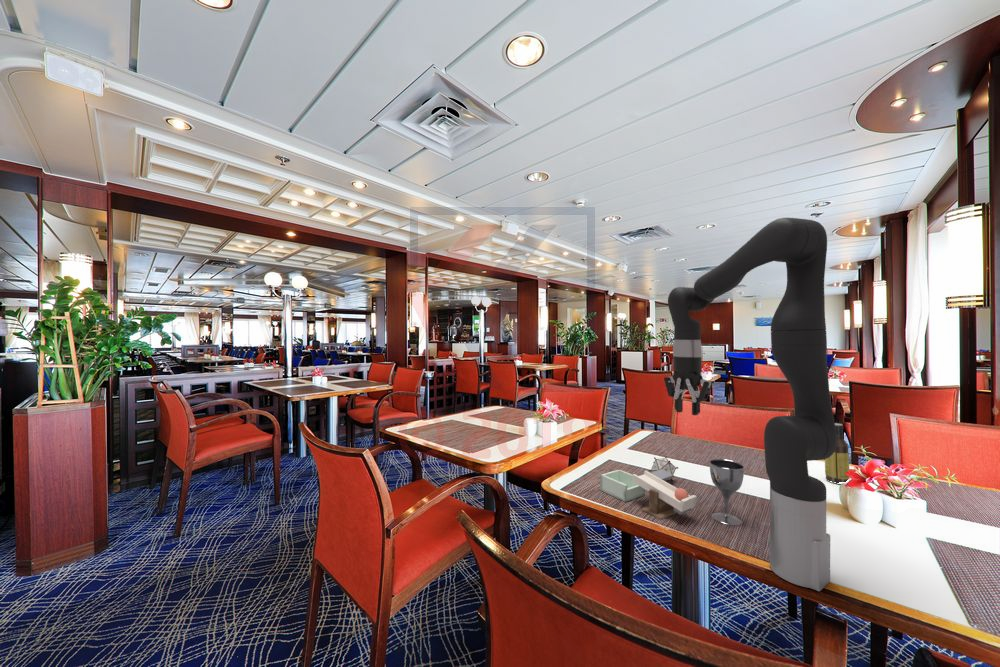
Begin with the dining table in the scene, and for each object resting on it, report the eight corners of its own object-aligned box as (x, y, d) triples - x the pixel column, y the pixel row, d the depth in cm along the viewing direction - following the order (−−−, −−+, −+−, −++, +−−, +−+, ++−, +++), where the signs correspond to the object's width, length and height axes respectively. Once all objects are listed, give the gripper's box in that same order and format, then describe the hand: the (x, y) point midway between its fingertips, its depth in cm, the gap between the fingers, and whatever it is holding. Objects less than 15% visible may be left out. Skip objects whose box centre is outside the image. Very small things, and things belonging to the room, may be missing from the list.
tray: (644, 495, 115) (644, 479, 115) (625, 502, 110) (625, 485, 110) (618, 484, 123) (619, 469, 123) (600, 490, 118) (600, 474, 118)
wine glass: (727, 528, 96) (727, 470, 96) (702, 513, 103) (702, 460, 103) (751, 523, 98) (751, 467, 98) (725, 510, 105) (725, 457, 105)
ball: (689, 502, 100) (692, 491, 99) (682, 505, 98) (685, 494, 97) (677, 495, 103) (680, 484, 102) (670, 498, 101) (673, 487, 100)
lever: (710, 503, 104) (713, 489, 104) (681, 516, 97) (683, 501, 96) (660, 475, 118) (663, 462, 117) (631, 484, 110) (633, 471, 109)
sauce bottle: (850, 482, 126) (850, 424, 126) (849, 487, 121) (849, 427, 122) (825, 476, 130) (825, 420, 130) (823, 481, 126) (823, 423, 126)
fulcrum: (682, 510, 105) (682, 487, 105) (660, 520, 100) (660, 496, 100) (663, 502, 110) (663, 480, 110) (641, 511, 105) (641, 488, 105)
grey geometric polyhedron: (669, 493, 125) (683, 476, 119) (644, 482, 127) (657, 465, 121) (668, 472, 132) (682, 455, 126) (645, 462, 134) (657, 445, 128)
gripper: (719, 356, 104) (718, 416, 104) (672, 353, 116) (672, 408, 116) (704, 356, 100) (704, 419, 100) (657, 354, 112) (657, 410, 112)
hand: (687, 413), depth 108 cm, fingers open, 4 cm apart
